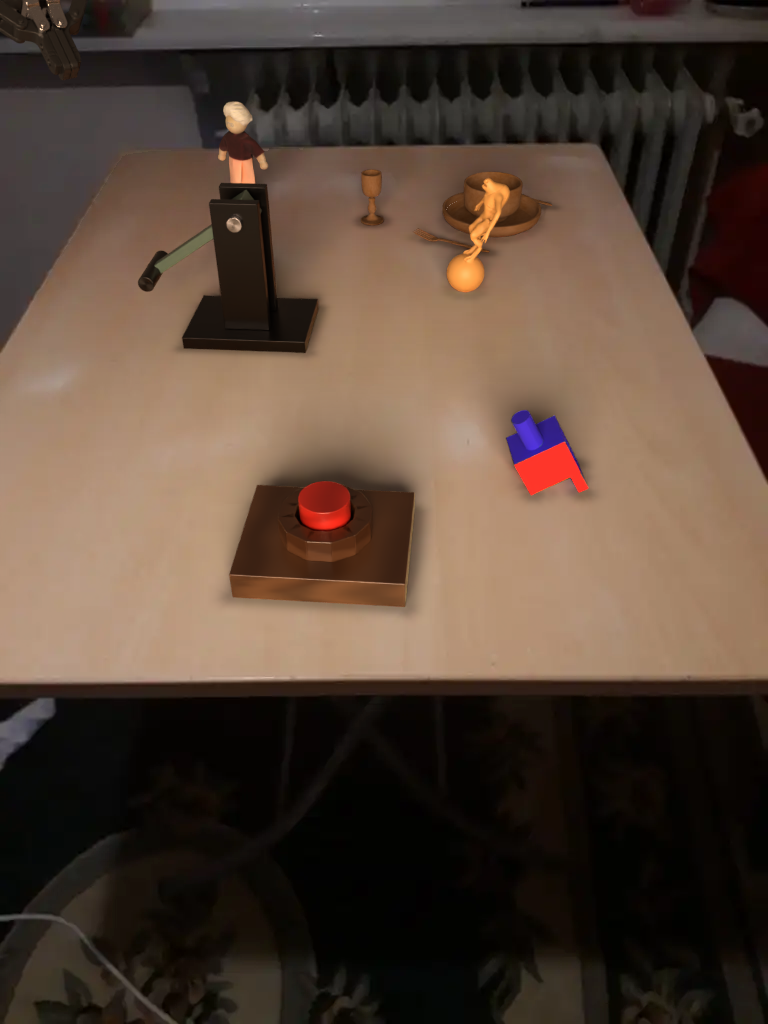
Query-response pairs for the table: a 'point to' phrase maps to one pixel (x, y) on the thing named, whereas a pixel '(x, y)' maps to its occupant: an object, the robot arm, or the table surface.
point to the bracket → (247, 283)
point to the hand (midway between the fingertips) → (70, 73)
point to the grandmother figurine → (240, 145)
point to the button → (324, 506)
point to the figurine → (478, 239)
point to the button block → (325, 550)
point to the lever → (178, 253)
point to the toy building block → (543, 453)
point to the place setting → (468, 205)
